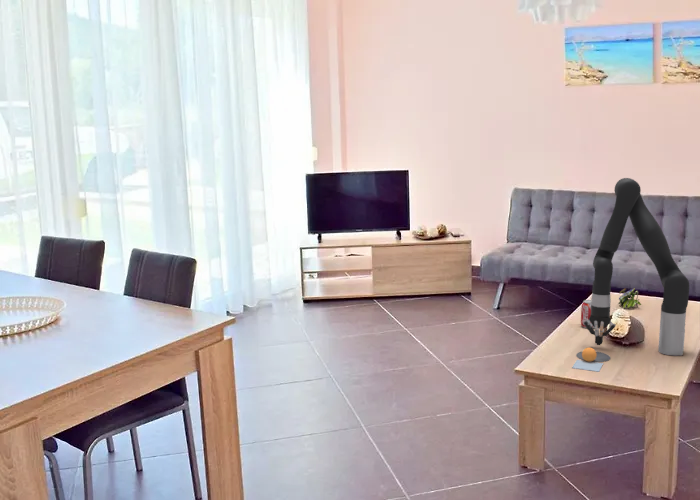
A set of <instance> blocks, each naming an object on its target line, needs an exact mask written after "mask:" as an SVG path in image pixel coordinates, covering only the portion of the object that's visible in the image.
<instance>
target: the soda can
mask: <svg viewBox="0 0 700 500" xmlns="http://www.w3.org/2000/svg"><path fill="white" fill-rule="evenodd" d="M580 311H581V313H580V326H581V327H582V328H584V329H587V328H586V326H585V325H584V322H585V321H587V320H589V317H590V315H591V299H584V300H583V301H582V303H581V310H580ZM590 323H591V322H590ZM590 325H591V327H592V328H593V329H595V327H594V326H593V325H592V324H590Z"/></svg>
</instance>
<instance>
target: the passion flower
mask: <svg viewBox="0 0 700 500" xmlns="http://www.w3.org/2000/svg"><path fill="white" fill-rule="evenodd" d="M635 289H636V288H635V287H634V288H632V289H629V290H628V291H626V290H627V288H623V289H621V291H619V295H620V294H622V295H620V296H619V297H618V300H619V302H618V305H621V306H622V307H623V309H624V308H625V309H629V308H634V307H635V306H636V307H637V309H638V305H639V306H642V303H641V302H640V299H638V297H639V291H638V290H636V291H635ZM635 296H636V299H635Z"/></svg>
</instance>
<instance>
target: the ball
mask: <svg viewBox="0 0 700 500" xmlns="http://www.w3.org/2000/svg"><path fill="white" fill-rule="evenodd" d="M582 351H583V352H582ZM582 351H581V352H582V357H583V359H584V360H583V361H588V362H591V361H594V360H595V359H596V356H597V354H596V352H597V351H596V349H594V348H592V347H586V348H584V349H583V350H582Z"/></svg>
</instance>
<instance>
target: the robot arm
mask: <svg viewBox="0 0 700 500" xmlns="http://www.w3.org/2000/svg"><path fill="white" fill-rule="evenodd" d="M641 191H642V190H641V185H640V184H639V183H638V181H637V180H635V179H633V178H631V177H630V178H629V177H623V178H620V179H619V180H618V181H617V182H616V183H615V185H614V194H615V197H616V198H615V203H614V208H613V211H612V213H611V216H610V218H609V221H608V222H607V223H606V226H605V229H604V231H603V234H602V236H601V241H600V243H599V244H600V245H599V247H598V248H597V250H596V253H595V255H594V257H593V262H592V266H593V268H594V277H593V278H594V280H593V282H592V290H591V291H592V293H591V298H590V300H591V315H590V317H589V320H587V321H585V322H584V325H585V326H586V328H585V329H587V331H589V333H590V335H593V336H595V337H594V344H596V345H597V346H601V345H602V344H603V342H604V341H603V340H604V337H606V336H608V335H609V334H610V333H611V332H612V331H613V330H614V329H615V327H616V325H617V324H615V323H613V322H612V320H611V317H610V316H611V302H612V300H611V299H612V298H611V292H612V291H611V287H612V284H611V283H612V277H613V271H614V267H613V266H614V265H613V262H612V260H613V257H614V255H615V253H616V252H617V251H618V249H619V246H620V243H621V240H622V238H623V234H624V231H625V228H626V225H627V222H628V220H630V223H631V225H632V228H633V230H634V231H635V234H636V236H637V239H638V240H639V244H641V246H642V248H643V250H644V252H645V253H646V254H647V256H648V257H649V259H650V260H651V261H652V263H653V265H654V266H655V269H656V271H657V273H658V276H659V279H660V281H661V285H662V287H663V297H662V303H661V305H660V306H661V308H660V319H659V333H658V334H659V335H658V336H659V337H658V347H657V348H658V352H659V353H661V354H663V355H666V356H683V354H684V350H685V349H684V348H685V346H684V345H685V333H686V316H687V307H688V305H689V296H690V281H689V279H688V277H686V275H685V274H684V273H683V272H682V271H681V268H679V266H678V265H677V263H676V262H675V261H676V260H674V258H673V255H672V253H671V250H670V245H669V243H668V241H667V237H666V236H665V234H664V232H663V230H662V228H661V226H660V223H658V222H657V220H656V219H655V216H654V215H653V214H652V213H651V212H650V210H649V209H648V207H647V206H646V204H645V202H644V200H643V197H642V194H641ZM590 322H591V323H590ZM590 324H592V325H593V326H594V327H595V328H592V327H591V325H590ZM607 327H608V329H606V328H607ZM605 329H606V331H605Z"/></svg>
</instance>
